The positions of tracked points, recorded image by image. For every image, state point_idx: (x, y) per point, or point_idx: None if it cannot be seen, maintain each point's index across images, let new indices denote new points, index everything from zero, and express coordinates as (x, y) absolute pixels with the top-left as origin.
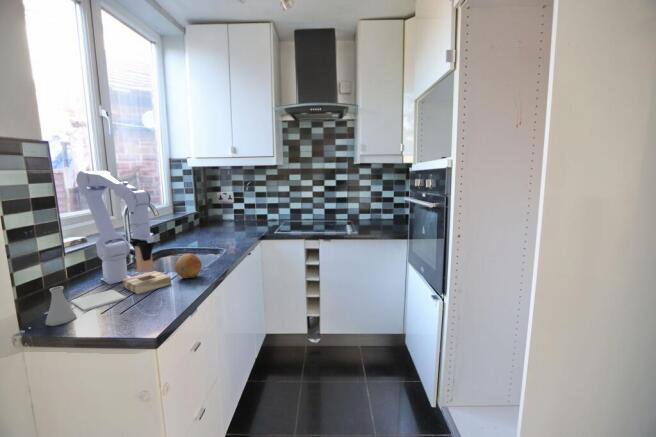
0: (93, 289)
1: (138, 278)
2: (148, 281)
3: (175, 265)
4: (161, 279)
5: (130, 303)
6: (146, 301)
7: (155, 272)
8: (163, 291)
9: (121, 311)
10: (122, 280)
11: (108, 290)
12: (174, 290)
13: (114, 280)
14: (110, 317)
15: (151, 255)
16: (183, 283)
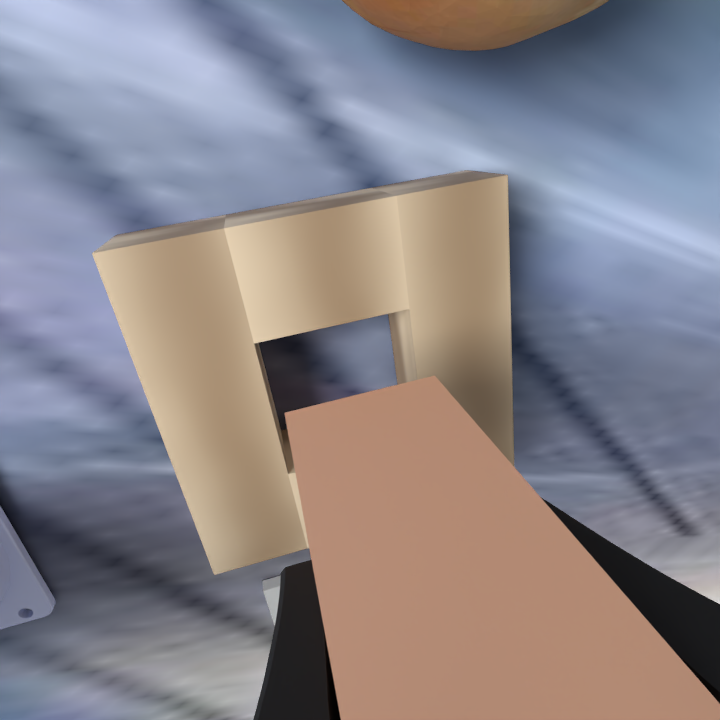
0: (117, 679)
1: (283, 456)
2: (478, 398)
3: (454, 19)
4: (508, 281)
5: (603, 493)
6: (657, 417)
7: (177, 270)
8: (586, 285)
9: (666, 532)
10: (11, 530)
11: (273, 608)
12: (642, 205)
13: (6, 593)
14: (687, 569)
15: (545, 511)
16: (547, 53)
